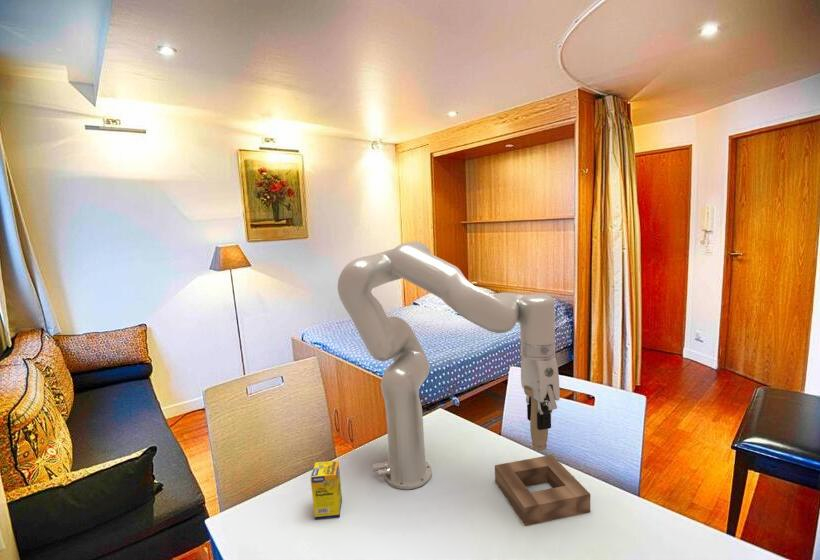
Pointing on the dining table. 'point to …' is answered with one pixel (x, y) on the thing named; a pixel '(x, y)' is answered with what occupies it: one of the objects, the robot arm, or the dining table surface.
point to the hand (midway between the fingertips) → (539, 423)
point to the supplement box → (326, 490)
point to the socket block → (546, 503)
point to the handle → (537, 435)
